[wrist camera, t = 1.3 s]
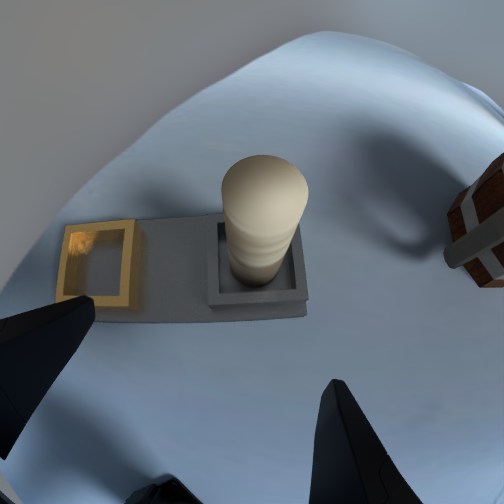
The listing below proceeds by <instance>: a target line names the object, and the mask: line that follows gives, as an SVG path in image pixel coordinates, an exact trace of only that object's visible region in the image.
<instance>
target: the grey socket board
mask: <svg viewBox="0 0 504 504" xmlns="http://www.w3.org/2000/svg"><path fill="white" fill-rule="evenodd" d="M82 295H87V296H89V297H91V298H92V299H93V300H94V304H95V313H96V317H95V320H94V322H110V323H210V322H235V321H254V320H269V319H283V318H295V317H304V316H306V315H307V309H306V301H307V300H308V290H307V281H306V273H305V264H304V257H303V249H302V241H301V234H300V227H299V223H298V225H297V228H296V230H295V233H294V235H293V237H292V240H291V242H290V244H289V247H288V249H287V251H286V254H285V256H284V258H283V261H282V263H281V265H280V268H279V270H278V272H277V274H276V276H275V278H274V279H273V280H272V281H271V282H269V283H268V284H266V285H264V286H261V287H249V286H246V285H243V284H242V283H240V282H239V281H238V280H236V278H235V277H234V276H233V274H232V272H231V269H230V263H229V254H228V246H227V237H226V228H225V219H224V213H217V214H207V216H194V217H178V218H163V219H149V220H137V221H136V220H135V219H129V220H117V221H107V222H96V223H86V224H77V225H68V226H66V228H65V233H64V238H63V244H62V250H61V257H60V264H59V271H58V280H57V289H56V301H55V303H58V302H61V301H65V300H68V299H71V298H75V297H78V296H82Z"/></svg>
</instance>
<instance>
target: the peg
mask: <svg viewBox="0 0 504 504" xmlns="http://www.w3.org/2000/svg"><path fill="white" fill-rule="evenodd" d="M221 189H222V201H223V210H224V219H225V228H226V237H227V246H228V254H229V263H230V269H231V272H232V274H233V276H234V277H235V278H236V280H238V281H239V282H240V283H242V284H243V285H246V286H249V287H261V286H264V285H266V284H268V283H269V282H271V281H272V280H273V279H274V278H275V276H276V274H277V272H278V270H279V268H280V265H281V263H282V261H283V258H284V256H285V254H286V251H287V249H288V247H289V244H290V242H291V240H292V237H293V235H294V233H295V230H296V228H297V225H298V223H299V221H300V218H301V216H302V213H303V211H304V208H305V206H306V204H307V200H308V187H307V183H306V181H305V179H304V177H303V175H302V174H301V172H300V171H299V170H298V169H297V168H296V167H295V166H294V165H292V164H291V163H289V162H288V161H286V160H284V159H281V158H278V157H275V156H270V155H256V156H251V157H247V158H244V159H242V160H240V161H238V162H237V163H235V164H234V165H233V166H232V167H231V168H230V169H229V170H228V171H227V173H226V174H225V176H224V179H223V182H222V188H221Z"/></svg>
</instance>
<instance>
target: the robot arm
mask: <svg viewBox="0 0 504 504" xmlns="http://www.w3.org/2000/svg"><path fill="white" fill-rule="evenodd" d="M95 317H96V313H95V304H94V300H93V299H92V298H91V297H89V296H87V295H82V296H78V297H75V298H71V299H68V300H65V301H61V302H58V303H54V304H51V305H48V306H44V307H41V308H37V309H34V310H31V311H27V312H24V313H21V314H17V315H14V316H10V317H9V318H8V317H7V318H4V319H0V457H1V458H2V459H3V460H5V459H6V458H7V456H8V454H9V452H10V451H11V449H12V447H13V445H14V444H15V442H16V440H17V439H18V437H19V435H20V434H21V432H22V430H23V429H24V427H25V425H26V423H27V422H28V420H29V419H30V417H31V415H32V414H33V412H34V411H35V409H36V408H37V406H38V405H39V403H40V402H41V400H42V399H43V397H44V396H45V394H46V393H47V391H48V390H49V388H50V387H51V385H52V384H53V382H54V381H55V380H56V378H57V377H58V375H59V374H60V372H61V371H62V370H63V368H64V367H65V365H66V364H67V363H68V361H69V360H70V359H71V357H72V356H73V354H74V353H75V352H76V350H77V349H78V347H79V346H80V344H81V342H82V340H83V339H84V337H85V335H86V334H87V332H88V330H89V329H90V327H91V325H92V324H93V322H94V320H95ZM172 482H175V483H176V484H177V485H174V484H172ZM0 504H15V503H13V502H12V501H11V500H10V499H9V498H8V497H7V496H6V495H4V494H3V493H2V492H1V491H0ZM124 504H203V503H202V502H200V501H199V500H198V499H197V498H196V497H195V496H194V495H193V494H192V493H191V492H190V491H189V490H188V489H187V488H186V487H185V486H184V485H183V484H182V483H181V482H180V481H179V480H178V479H176V478H171V479H169V480H167V481H165V482H163V483H161V484H159V485H156V484H151V485H149V486H146V487H144V488H142V489H140V490H138V491H135V492H134V493H133V494H132V495H131V496H130V497H129V498H128V499H127V500H126V502H125V503H124ZM309 504H423V503H422V502H421V500H420V499H419V498H418V497H417V495H416V494H415V493H414V491H413V490H412V489H411V487H410V486H409V485H408V483H407V482H406V481H405V479H404V478H403V477H402V475H401V474H400V472H399V471H398V469H397V468H396V466H395V464H394V463H393V461H392V460H391V458H390V456H389V455H387V451H386V450H385V448H384V446H383V445H382V443H381V441H380V440H379V438H378V436H377V435H376V433H375V431H374V430H373V428H372V426H371V425H370V423H369V421H368V420H367V418H366V416H365V415H364V413H363V411H362V410H361V408H360V406H359V405H358V403H357V402H356V400H355V398H354V397H353V395H352V393H351V392H350V390H349V388H348V387H347V385H346V383H345V382H344V381H343V380H338V379H332V380H331V381H330V383H329V384H328V386H327V387H326V389H325V390H324V392H323V394H322V396H321V401H320V408H319V413H318V419H317V425H316V430H315V438H314V453H313V465H312V477H311V487H310V497H309Z"/></svg>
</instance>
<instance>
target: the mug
mask: <svg viewBox="0 0 504 504" xmlns="http://www.w3.org/2000/svg"><path fill="white" fill-rule="evenodd" d="M447 216H448V220H449V225H450V229H451V234H452V239H453V243H452V244H451V245H449V246H448V247H447V248H445V250H444V253H443V254H444V258H445V262H446V263H447V264H448V266H449V267H450V268H452V269H455V268H457V267H459V266H461V265H463V266H464V267H465V268H466V270H467V271H468V272H469V274H470V275H471V276H472V278H473V279H474V280H475V282H476V283H477V285H478V286H479V287H480V288H495V287H504V153H503V154H501V155H500V156H499V157H498V158H496V159H495V160H494V161H493V162H492V163H491V164H490V165H489V167H488V168H487V169H486V170H485V172H484V173H483V174H482V175H481V176H480V177H479V178H478V179H477V180H476V181H475V182H474V183H473V184H472V185H471V186H469V187H468V188H466V189H465V190H463V191H462V192H460V193H459V195H458V197H457V198H456V200H455V202H454V204H453V205H452V207H451V209H450V210H449V212H448V214H447Z"/></svg>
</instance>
